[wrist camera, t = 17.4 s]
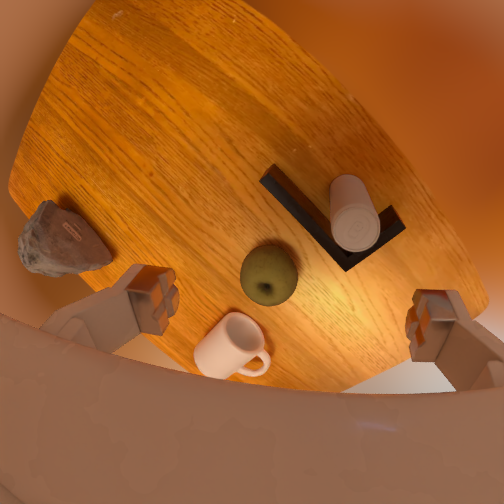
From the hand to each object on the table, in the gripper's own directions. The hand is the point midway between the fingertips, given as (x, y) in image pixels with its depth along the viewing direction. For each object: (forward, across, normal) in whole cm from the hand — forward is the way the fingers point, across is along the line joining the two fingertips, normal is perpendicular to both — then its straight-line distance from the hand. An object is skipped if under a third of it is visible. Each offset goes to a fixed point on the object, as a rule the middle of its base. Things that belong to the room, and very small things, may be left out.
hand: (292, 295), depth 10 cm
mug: (+30, +10, +33) cm, 46 cm away
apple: (+30, +5, +17) cm, 35 cm away
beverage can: (+30, -5, +6) cm, 31 cm away
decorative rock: (+30, +38, +13) cm, 50 cm away
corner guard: (+30, -3, +6) cm, 31 cm away
